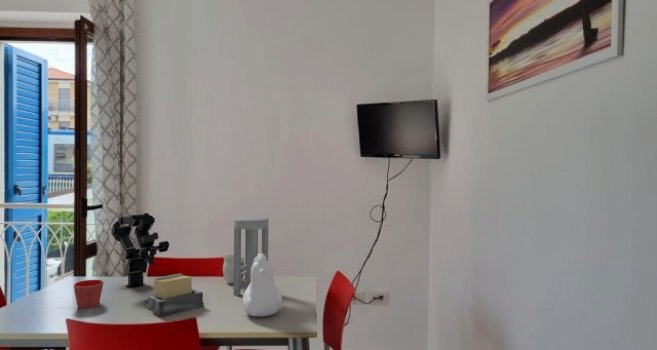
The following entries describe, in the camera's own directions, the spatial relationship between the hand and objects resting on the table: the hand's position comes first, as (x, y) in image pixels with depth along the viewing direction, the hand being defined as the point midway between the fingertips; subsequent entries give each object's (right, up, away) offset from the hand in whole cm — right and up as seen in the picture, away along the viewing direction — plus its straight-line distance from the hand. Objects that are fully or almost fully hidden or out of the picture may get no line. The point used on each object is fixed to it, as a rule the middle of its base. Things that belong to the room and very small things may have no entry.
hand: (152, 265), depth 189 cm
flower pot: (-20, -14, -15) cm, 29 cm away
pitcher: (+32, -14, +24) cm, 42 cm away
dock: (+11, -15, -11) cm, 21 cm away
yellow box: (+16, -11, -16) cm, 25 cm away
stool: (+44, -14, +5) cm, 46 cm away
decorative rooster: (+53, -15, -19) cm, 59 cm away
